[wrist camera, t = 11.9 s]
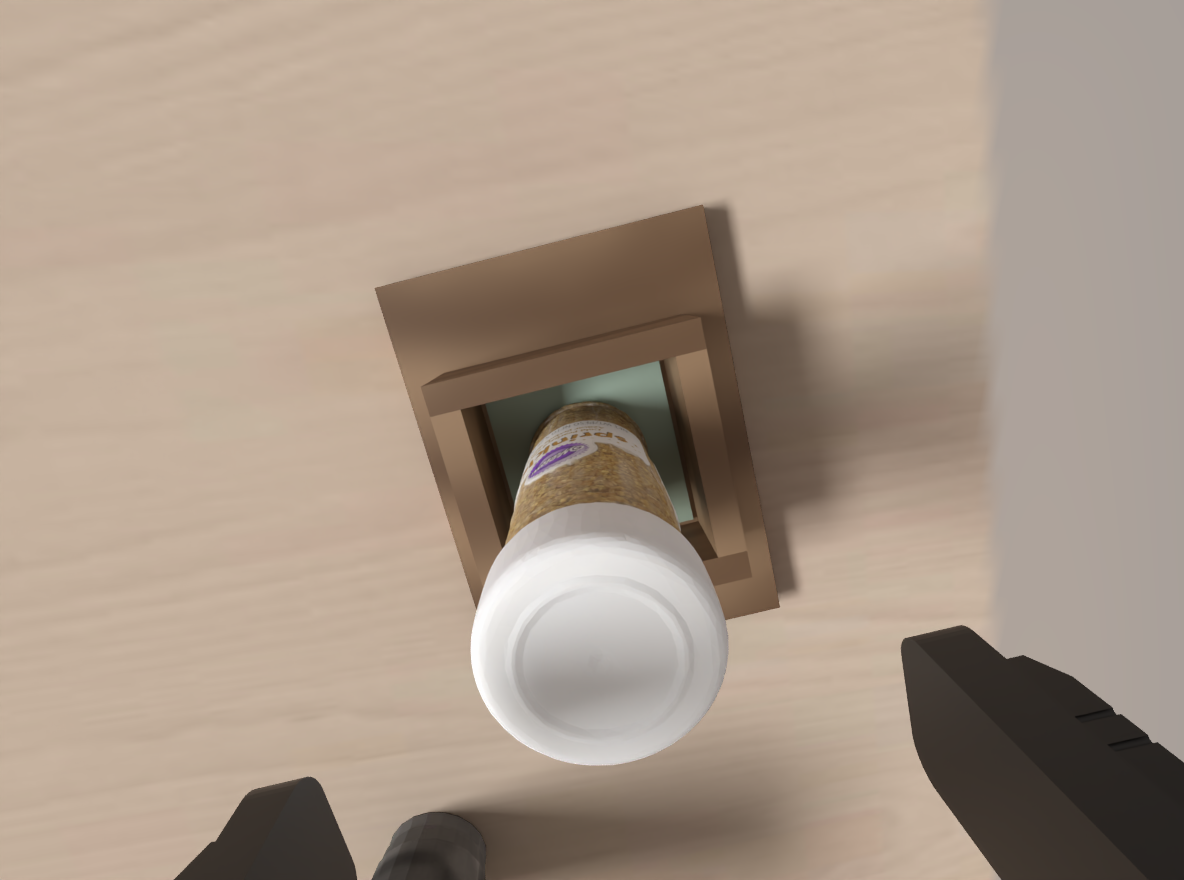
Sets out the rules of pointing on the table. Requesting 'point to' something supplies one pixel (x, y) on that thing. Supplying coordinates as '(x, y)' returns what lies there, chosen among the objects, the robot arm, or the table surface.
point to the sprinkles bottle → (597, 602)
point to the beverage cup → (434, 850)
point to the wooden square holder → (586, 384)
